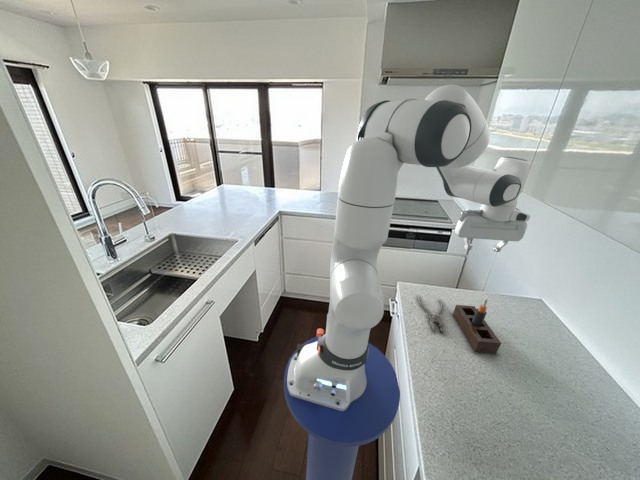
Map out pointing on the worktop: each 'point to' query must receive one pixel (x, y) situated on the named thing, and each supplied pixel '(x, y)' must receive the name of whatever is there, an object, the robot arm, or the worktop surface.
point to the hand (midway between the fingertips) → (481, 250)
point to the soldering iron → (480, 315)
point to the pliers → (434, 318)
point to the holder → (476, 331)
